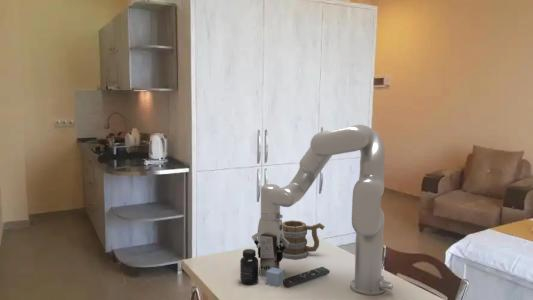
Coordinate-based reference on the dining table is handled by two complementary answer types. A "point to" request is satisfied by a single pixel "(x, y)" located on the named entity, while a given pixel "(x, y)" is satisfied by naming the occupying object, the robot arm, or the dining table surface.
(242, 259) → the supplement bottle
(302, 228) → the tankard
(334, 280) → the dining table surface
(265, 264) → the coffee box
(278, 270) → the dusty-blue block
